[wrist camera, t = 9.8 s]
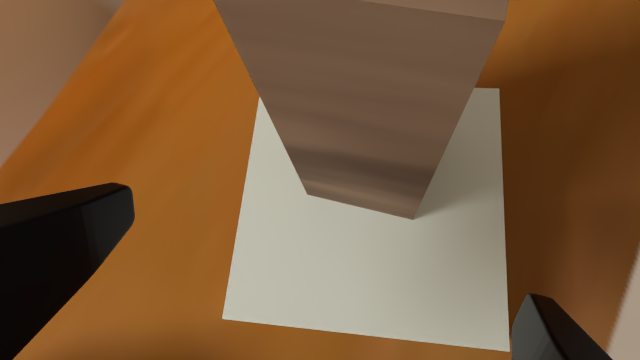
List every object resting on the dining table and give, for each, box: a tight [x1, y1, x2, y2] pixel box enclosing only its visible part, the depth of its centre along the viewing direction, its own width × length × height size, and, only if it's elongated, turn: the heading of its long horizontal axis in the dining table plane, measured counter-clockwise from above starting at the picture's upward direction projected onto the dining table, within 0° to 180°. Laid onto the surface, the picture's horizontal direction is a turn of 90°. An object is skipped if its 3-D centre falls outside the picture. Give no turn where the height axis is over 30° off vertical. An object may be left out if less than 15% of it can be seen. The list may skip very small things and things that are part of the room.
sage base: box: [222, 88, 510, 352], centre depth 20 cm, size 12×12×3 cm
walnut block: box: [214, 0, 509, 220], centre depth 13 cm, size 5×5×13 cm
